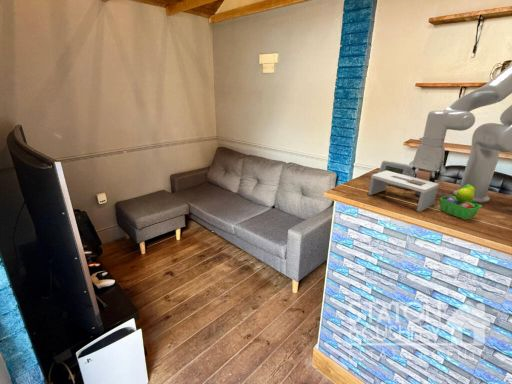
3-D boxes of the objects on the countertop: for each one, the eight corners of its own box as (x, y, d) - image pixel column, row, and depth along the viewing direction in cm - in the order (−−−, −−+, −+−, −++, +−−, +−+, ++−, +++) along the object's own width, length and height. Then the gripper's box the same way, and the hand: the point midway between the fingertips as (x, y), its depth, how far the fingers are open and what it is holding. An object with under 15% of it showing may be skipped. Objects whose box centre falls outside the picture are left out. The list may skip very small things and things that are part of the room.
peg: (417, 191, 123) (423, 167, 119) (429, 194, 119) (435, 170, 115) (412, 194, 120) (417, 169, 116) (424, 197, 116) (430, 172, 112)
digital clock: (373, 181, 137) (377, 161, 134) (384, 178, 142) (388, 158, 138) (404, 191, 125) (409, 169, 121) (415, 188, 129) (420, 166, 125)
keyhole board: (382, 188, 127) (386, 170, 124) (433, 204, 111) (439, 183, 108) (368, 194, 121) (371, 174, 118) (419, 211, 104) (425, 189, 101)
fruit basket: (435, 209, 107) (442, 182, 102) (449, 206, 110) (457, 179, 106) (466, 222, 97) (475, 192, 93) (480, 217, 100) (491, 189, 96)
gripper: (407, 140, 115) (399, 180, 122) (452, 146, 103) (441, 191, 109) (415, 138, 120) (407, 177, 126) (460, 144, 107) (449, 187, 113)
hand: (423, 183), depth 118 cm, fingers closed on peg, 5 cm apart
